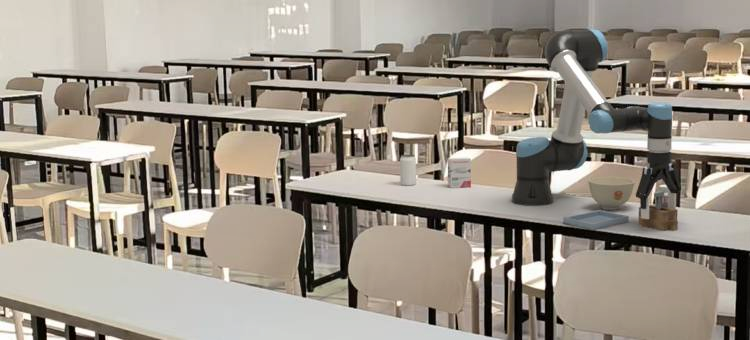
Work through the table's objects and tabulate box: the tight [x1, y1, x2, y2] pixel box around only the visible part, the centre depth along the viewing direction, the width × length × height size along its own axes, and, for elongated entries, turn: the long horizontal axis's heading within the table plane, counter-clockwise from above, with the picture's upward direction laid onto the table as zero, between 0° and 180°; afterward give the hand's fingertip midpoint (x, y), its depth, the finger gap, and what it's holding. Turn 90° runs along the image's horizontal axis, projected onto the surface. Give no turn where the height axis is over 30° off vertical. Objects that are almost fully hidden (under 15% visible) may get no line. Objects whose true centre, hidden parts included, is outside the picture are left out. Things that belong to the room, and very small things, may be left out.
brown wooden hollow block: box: [638, 204, 679, 232], centre depth 330 cm, size 12×6×6 cm, turn 36°
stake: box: [653, 191, 664, 210], centre depth 331 cm, size 2×4×11 cm, turn 126°
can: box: [399, 154, 417, 187], centre depth 414 cm, size 6×6×12 cm
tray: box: [562, 209, 630, 231], centre depth 339 cm, size 13×18×2 cm
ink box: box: [447, 156, 472, 189], centre depth 407 cm, size 8×5×12 cm, turn 99°
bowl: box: [588, 176, 636, 211], centre depth 360 cm, size 16×16×10 cm
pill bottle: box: [658, 184, 671, 208], centre depth 348 cm, size 6×6×10 cm
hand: (658, 215), depth 330 cm, fingers open, 13 cm apart
